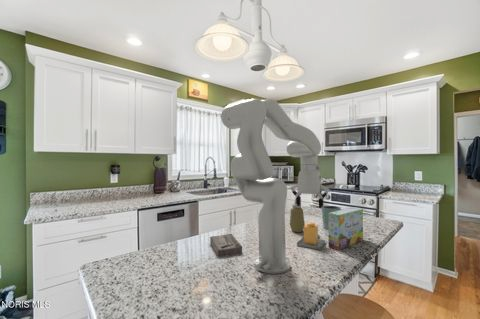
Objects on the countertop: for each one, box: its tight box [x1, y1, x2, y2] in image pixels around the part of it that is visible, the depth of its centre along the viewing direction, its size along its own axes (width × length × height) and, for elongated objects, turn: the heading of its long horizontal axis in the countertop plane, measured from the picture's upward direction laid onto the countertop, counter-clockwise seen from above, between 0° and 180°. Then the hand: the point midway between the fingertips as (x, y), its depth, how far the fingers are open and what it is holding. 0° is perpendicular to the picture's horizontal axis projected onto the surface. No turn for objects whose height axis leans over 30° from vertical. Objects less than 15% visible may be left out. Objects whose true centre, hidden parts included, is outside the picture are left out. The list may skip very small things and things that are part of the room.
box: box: [209, 233, 243, 257], centre depth 101 cm, size 11×17×3 cm, turn 18°
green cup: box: [321, 205, 342, 231], centre depth 128 cm, size 10×10×12 cm
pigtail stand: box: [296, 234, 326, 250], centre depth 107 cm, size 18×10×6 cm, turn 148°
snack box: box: [328, 206, 364, 251], centre depth 104 cm, size 21×6×15 cm, turn 127°
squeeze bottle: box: [289, 197, 306, 233], centre depth 124 cm, size 8×8×18 cm
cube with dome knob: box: [303, 222, 319, 244], centre depth 104 cm, size 5×5×8 cm
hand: (309, 206), depth 103 cm, fingers open, 9 cm apart
